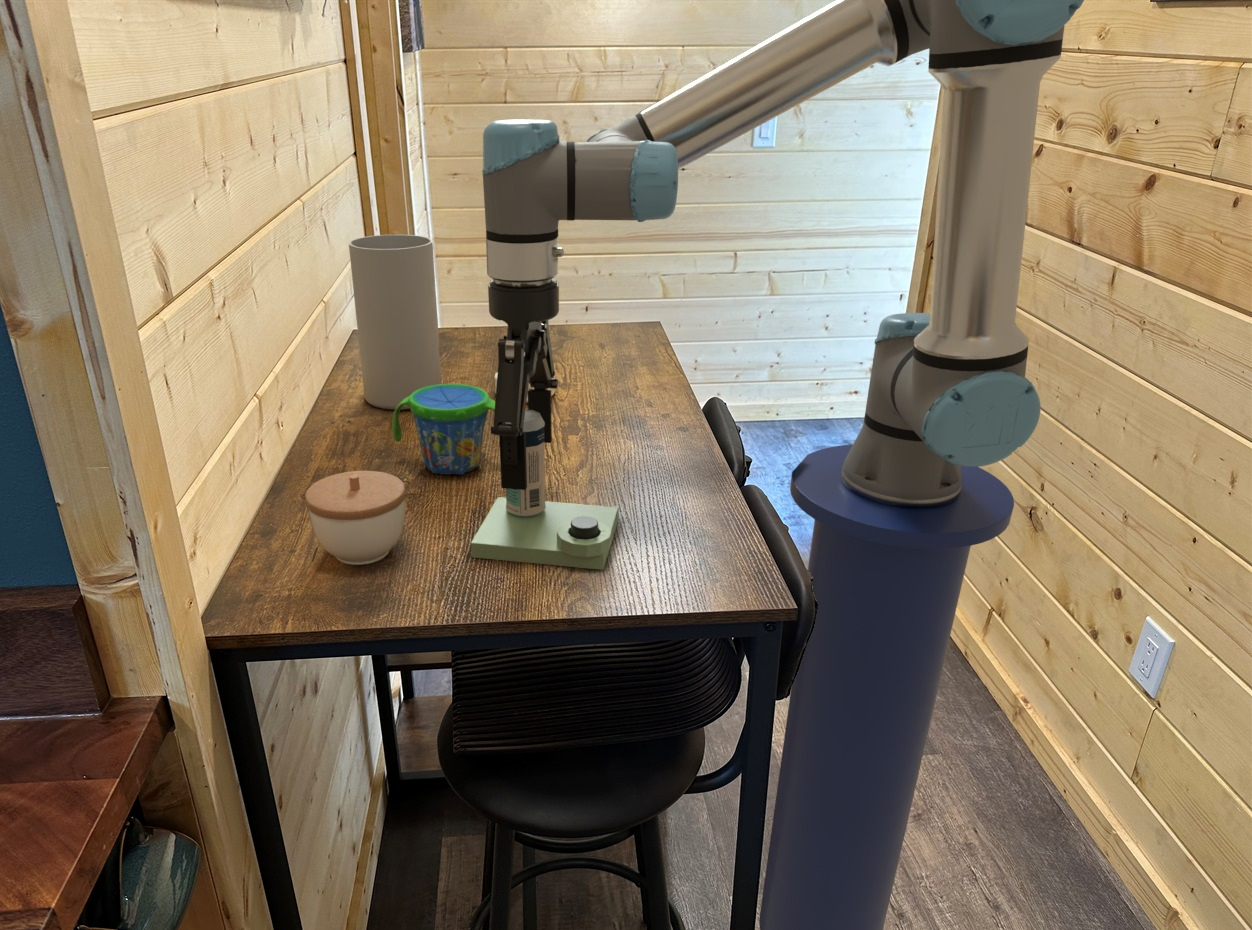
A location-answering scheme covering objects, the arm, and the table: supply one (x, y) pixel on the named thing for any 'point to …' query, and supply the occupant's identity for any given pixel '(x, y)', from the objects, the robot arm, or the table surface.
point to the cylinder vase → (395, 316)
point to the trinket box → (357, 514)
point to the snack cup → (448, 425)
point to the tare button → (584, 528)
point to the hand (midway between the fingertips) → (528, 463)
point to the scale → (545, 535)
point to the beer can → (531, 470)
